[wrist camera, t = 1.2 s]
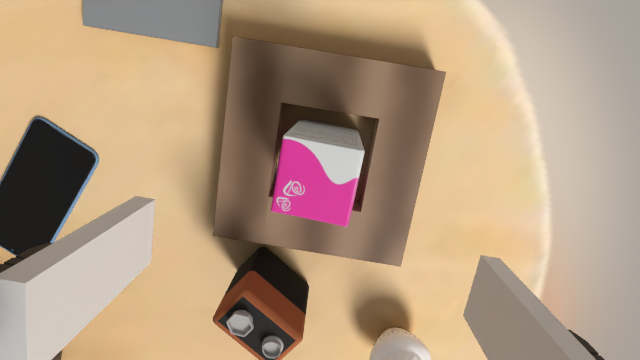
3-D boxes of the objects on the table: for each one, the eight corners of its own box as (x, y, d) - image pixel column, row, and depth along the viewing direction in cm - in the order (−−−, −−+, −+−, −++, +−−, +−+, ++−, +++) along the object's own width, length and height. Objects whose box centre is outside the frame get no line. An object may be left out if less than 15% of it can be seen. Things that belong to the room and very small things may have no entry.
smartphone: (100, 156, 38) (36, 270, 41) (105, 154, 39) (42, 266, 42) (32, 112, 37) (-28, 232, 40) (38, 111, 38) (-21, 228, 41)
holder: (222, 224, 39) (213, 235, 37) (241, 40, 35) (232, 36, 32) (395, 253, 40) (400, 266, 37) (436, 72, 35) (446, 71, 32)
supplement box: (298, 117, 37) (282, 131, 25) (359, 129, 37) (370, 149, 26) (287, 175, 38) (269, 213, 27) (347, 187, 38) (352, 229, 27)
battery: (263, 242, 40) (240, 294, 30) (311, 284, 41) (304, 347, 31) (235, 270, 41) (205, 328, 31) (283, 310, 42) (268, 379, 32)
